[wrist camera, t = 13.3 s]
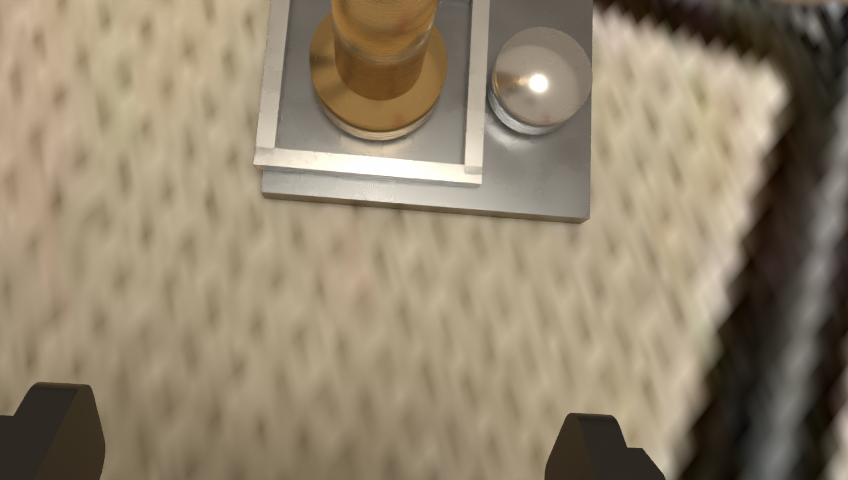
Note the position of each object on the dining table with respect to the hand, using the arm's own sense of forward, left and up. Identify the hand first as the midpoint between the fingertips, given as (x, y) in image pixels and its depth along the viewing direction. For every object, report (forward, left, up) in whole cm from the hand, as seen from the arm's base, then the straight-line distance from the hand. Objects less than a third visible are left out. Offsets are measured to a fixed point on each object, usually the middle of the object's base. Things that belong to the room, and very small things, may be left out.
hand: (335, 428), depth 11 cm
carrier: (+3, +14, -18) cm, 23 cm away
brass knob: (0, +14, -16) cm, 21 cm away
